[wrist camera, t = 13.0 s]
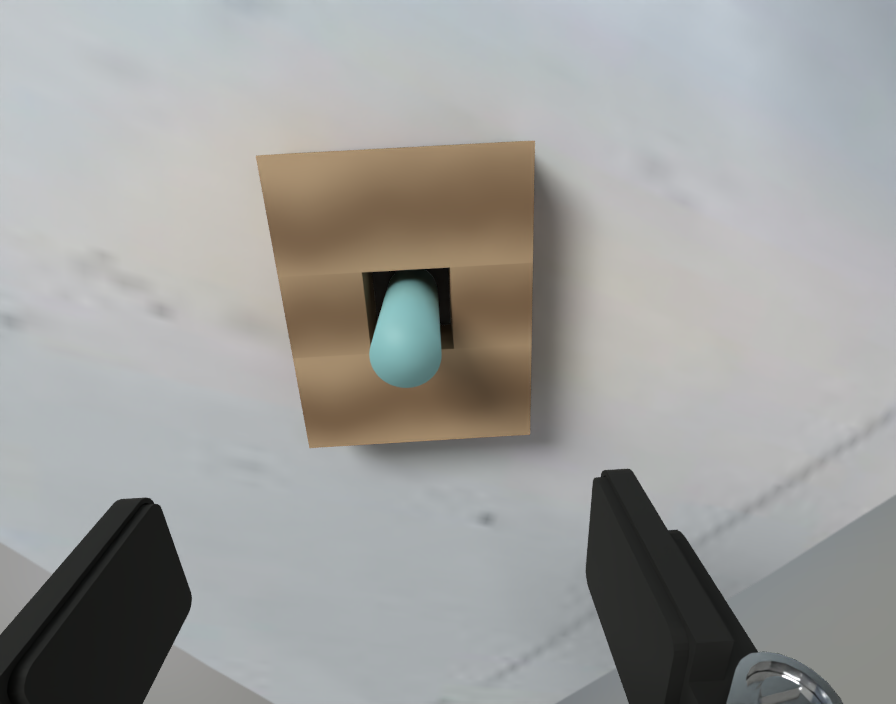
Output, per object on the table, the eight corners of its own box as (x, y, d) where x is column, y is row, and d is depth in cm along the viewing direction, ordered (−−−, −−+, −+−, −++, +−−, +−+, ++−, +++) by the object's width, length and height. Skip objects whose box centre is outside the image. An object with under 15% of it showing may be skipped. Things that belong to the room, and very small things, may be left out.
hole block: (279, 154, 27) (255, 155, 23) (520, 141, 27) (534, 140, 23) (322, 414, 33) (309, 448, 29) (518, 402, 33) (530, 434, 30)
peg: (385, 267, 29) (365, 323, 20) (436, 264, 30) (439, 319, 20) (390, 316, 31) (373, 389, 21) (439, 313, 31) (443, 385, 21)
